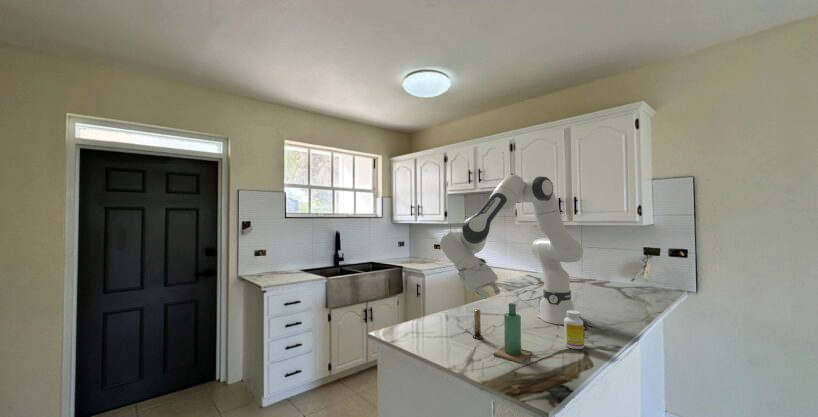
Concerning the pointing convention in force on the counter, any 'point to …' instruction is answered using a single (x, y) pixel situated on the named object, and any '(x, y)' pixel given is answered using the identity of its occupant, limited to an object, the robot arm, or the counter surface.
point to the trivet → (518, 358)
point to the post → (477, 325)
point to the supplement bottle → (573, 330)
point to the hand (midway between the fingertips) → (493, 295)
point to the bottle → (512, 331)
